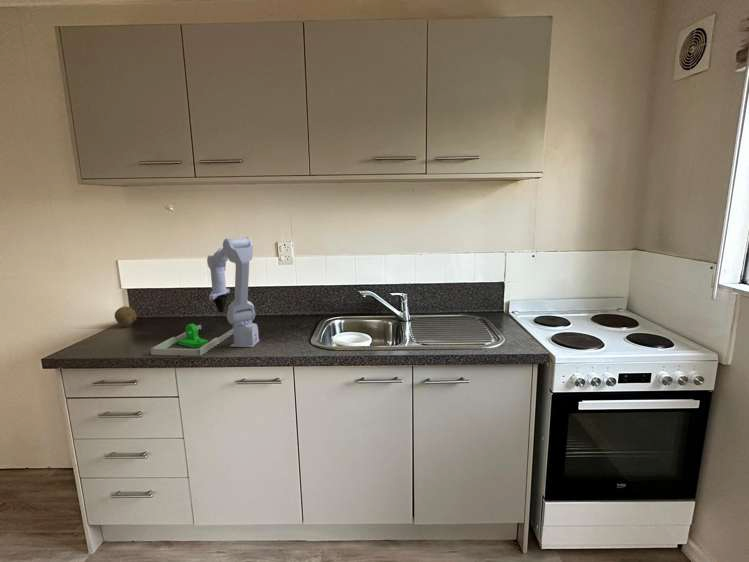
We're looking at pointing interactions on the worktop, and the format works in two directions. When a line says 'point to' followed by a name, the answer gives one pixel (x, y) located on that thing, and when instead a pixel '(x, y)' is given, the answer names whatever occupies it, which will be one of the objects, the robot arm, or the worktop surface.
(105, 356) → the worktop surface
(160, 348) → the tray
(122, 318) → the natural sponge
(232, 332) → the slot rails
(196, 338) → the mechanical part
